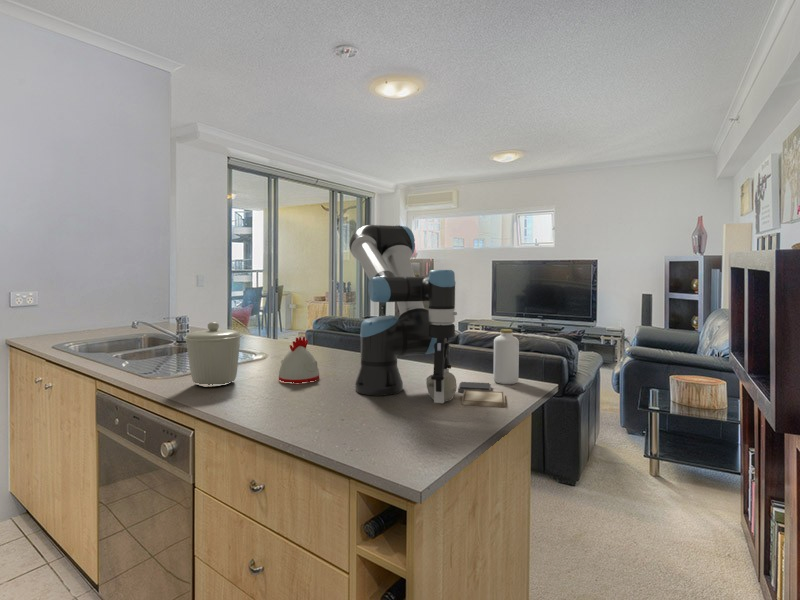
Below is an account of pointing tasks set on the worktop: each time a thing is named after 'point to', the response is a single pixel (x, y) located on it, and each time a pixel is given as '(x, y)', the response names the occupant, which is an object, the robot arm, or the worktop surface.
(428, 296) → the robot arm
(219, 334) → the canister
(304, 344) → the grey knit hat
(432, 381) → the decorative object
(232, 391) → the worktop surface
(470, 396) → the board
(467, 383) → the ink pad
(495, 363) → the potion bottle
